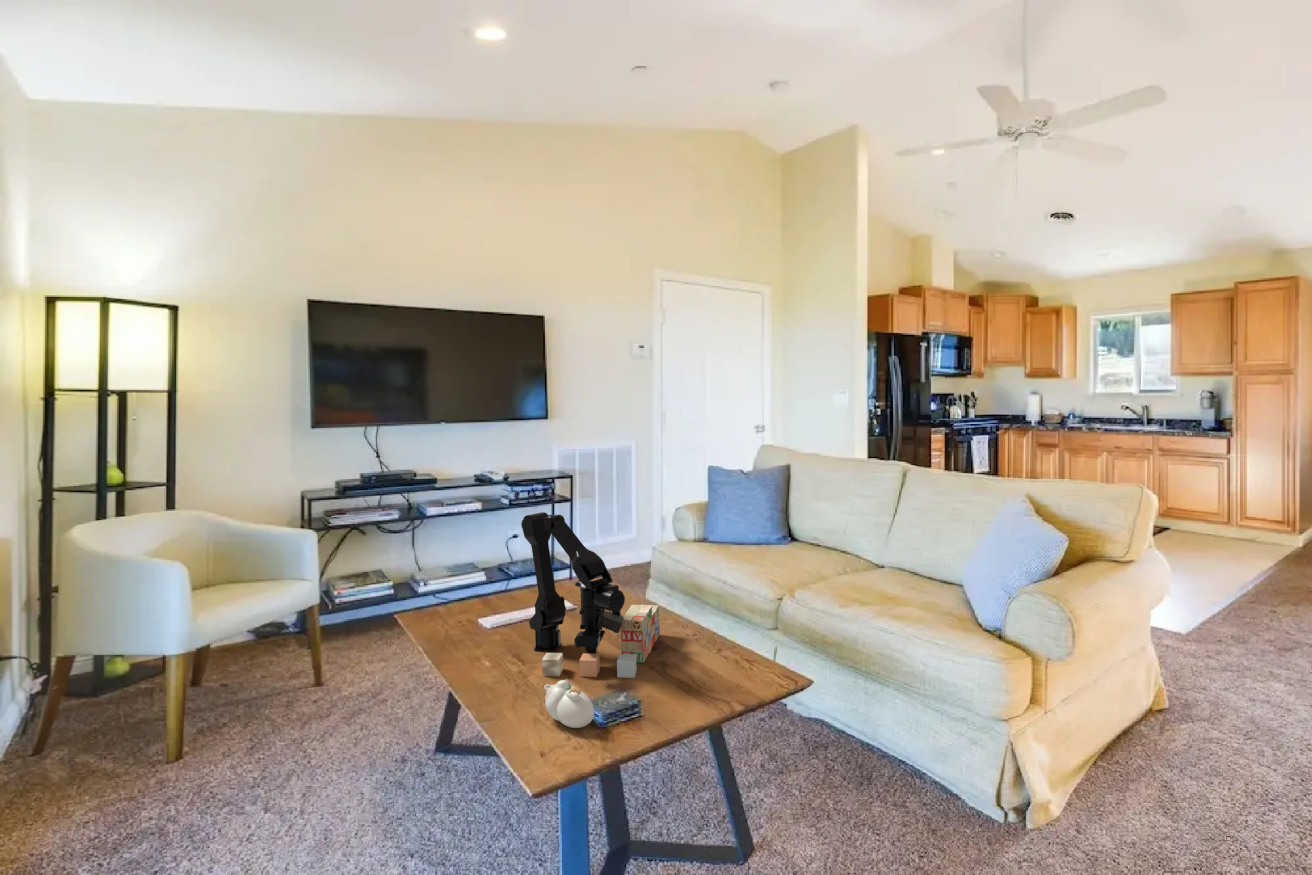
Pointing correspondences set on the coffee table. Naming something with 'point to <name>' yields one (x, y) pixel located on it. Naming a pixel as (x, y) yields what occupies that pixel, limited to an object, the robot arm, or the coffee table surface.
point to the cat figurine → (568, 704)
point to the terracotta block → (589, 665)
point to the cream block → (552, 664)
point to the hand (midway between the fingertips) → (593, 660)
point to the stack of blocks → (640, 630)
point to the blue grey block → (626, 665)
